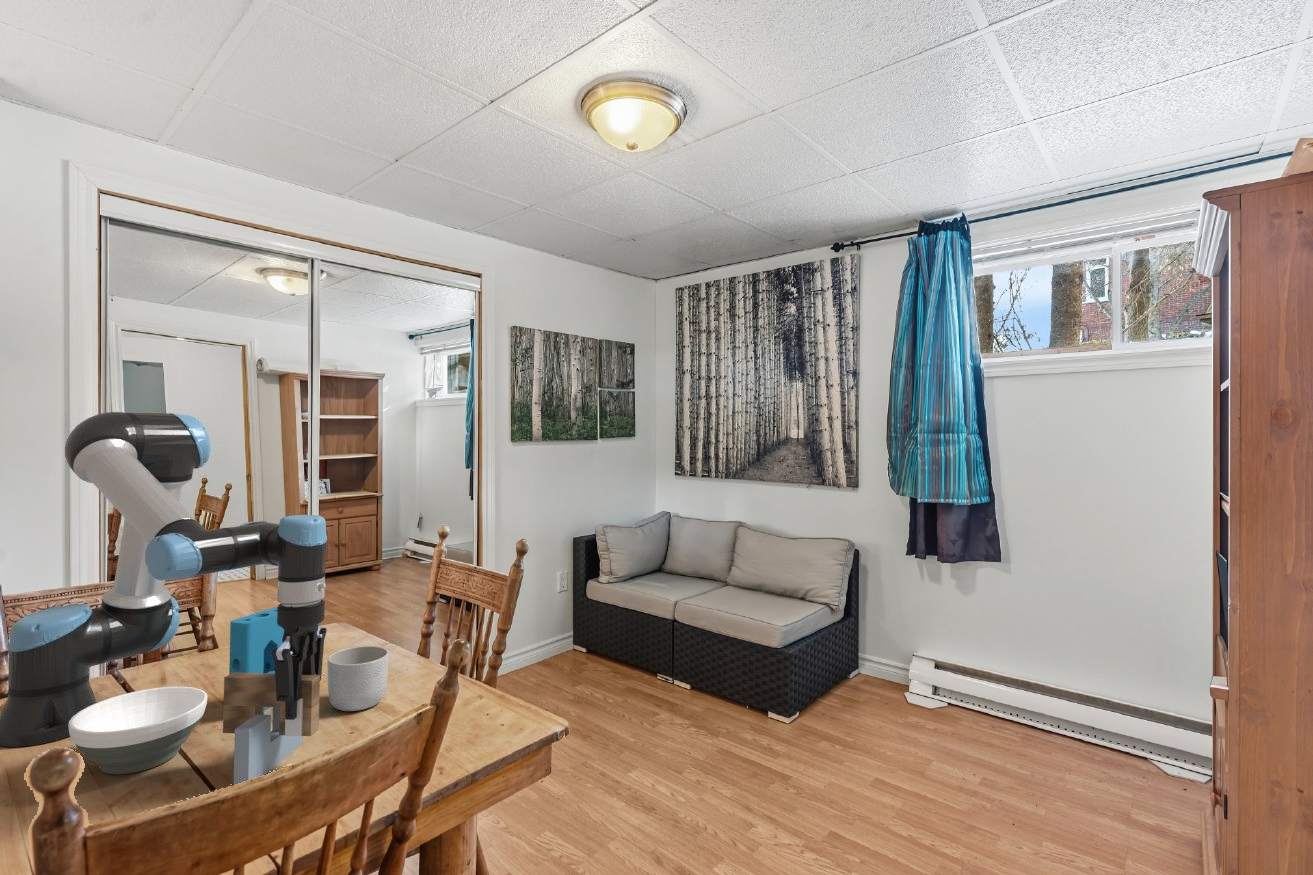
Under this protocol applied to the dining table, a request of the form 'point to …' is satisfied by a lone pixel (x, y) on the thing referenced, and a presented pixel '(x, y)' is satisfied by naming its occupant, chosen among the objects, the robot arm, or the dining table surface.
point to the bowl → (137, 728)
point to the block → (255, 643)
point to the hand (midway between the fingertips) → (298, 730)
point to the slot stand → (260, 746)
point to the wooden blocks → (266, 700)
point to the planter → (357, 677)
